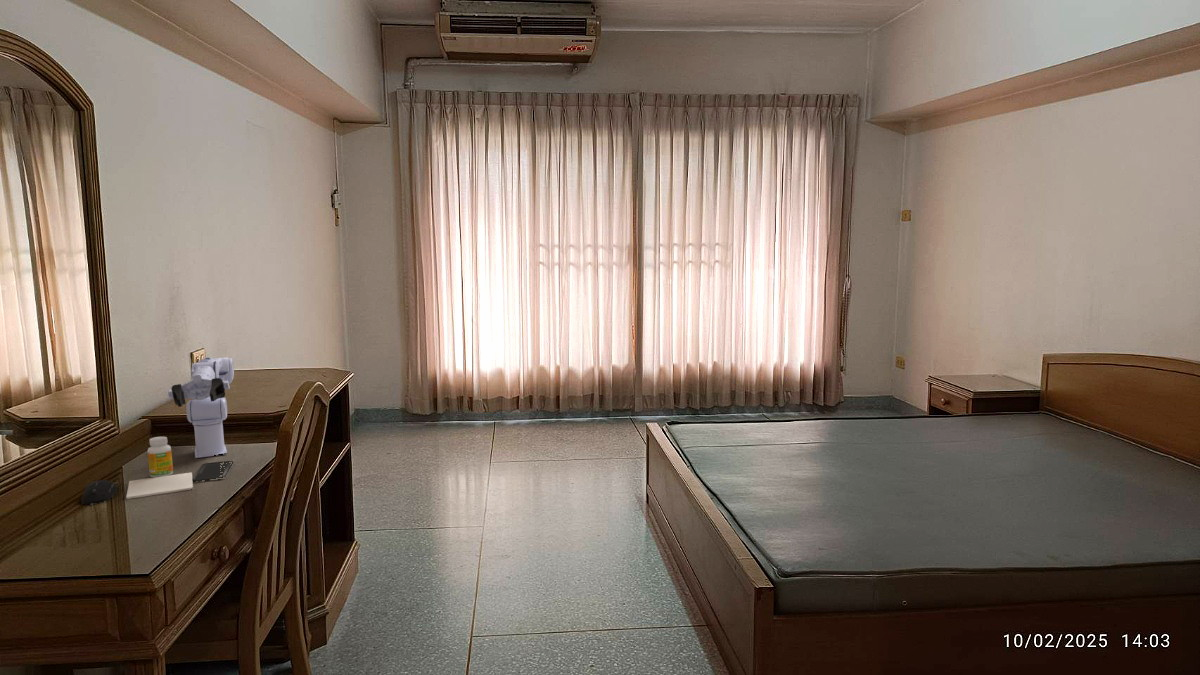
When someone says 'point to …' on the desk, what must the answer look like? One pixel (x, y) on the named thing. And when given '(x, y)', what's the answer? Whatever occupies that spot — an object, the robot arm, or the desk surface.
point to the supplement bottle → (160, 457)
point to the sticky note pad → (159, 485)
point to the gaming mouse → (99, 492)
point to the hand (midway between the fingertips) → (195, 400)
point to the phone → (212, 471)
